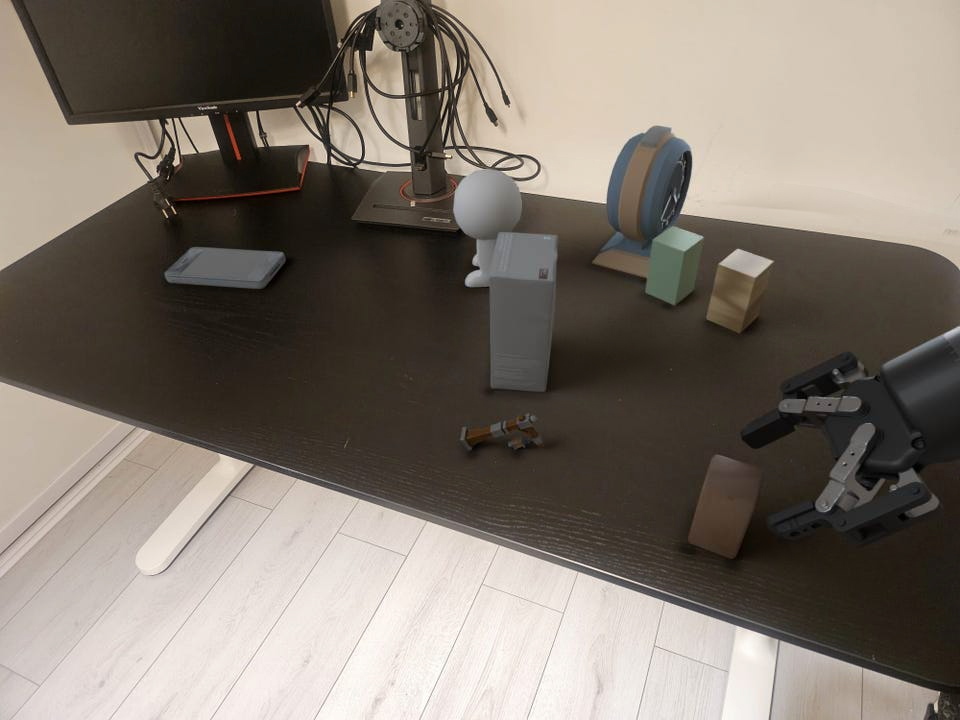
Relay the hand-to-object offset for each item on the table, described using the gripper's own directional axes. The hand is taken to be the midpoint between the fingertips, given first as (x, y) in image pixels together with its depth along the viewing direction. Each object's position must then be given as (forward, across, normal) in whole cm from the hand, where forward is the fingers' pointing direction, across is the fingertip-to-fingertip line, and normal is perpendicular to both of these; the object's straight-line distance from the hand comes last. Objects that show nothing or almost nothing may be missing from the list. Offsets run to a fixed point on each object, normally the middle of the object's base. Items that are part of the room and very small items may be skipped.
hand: (758, 482), depth 48 cm
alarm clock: (+8, -47, +3) cm, 48 cm away
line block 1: (+6, -37, +5) cm, 37 cm away
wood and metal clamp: (+20, -10, -10) cm, 25 cm away
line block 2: (+1, -31, +9) cm, 33 cm away
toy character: (+23, -41, -12) cm, 49 cm away
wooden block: (+7, 0, +4) cm, 8 cm away
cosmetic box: (+19, -21, -8) cm, 30 cm away
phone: (+51, -42, -40) cm, 77 cm away
